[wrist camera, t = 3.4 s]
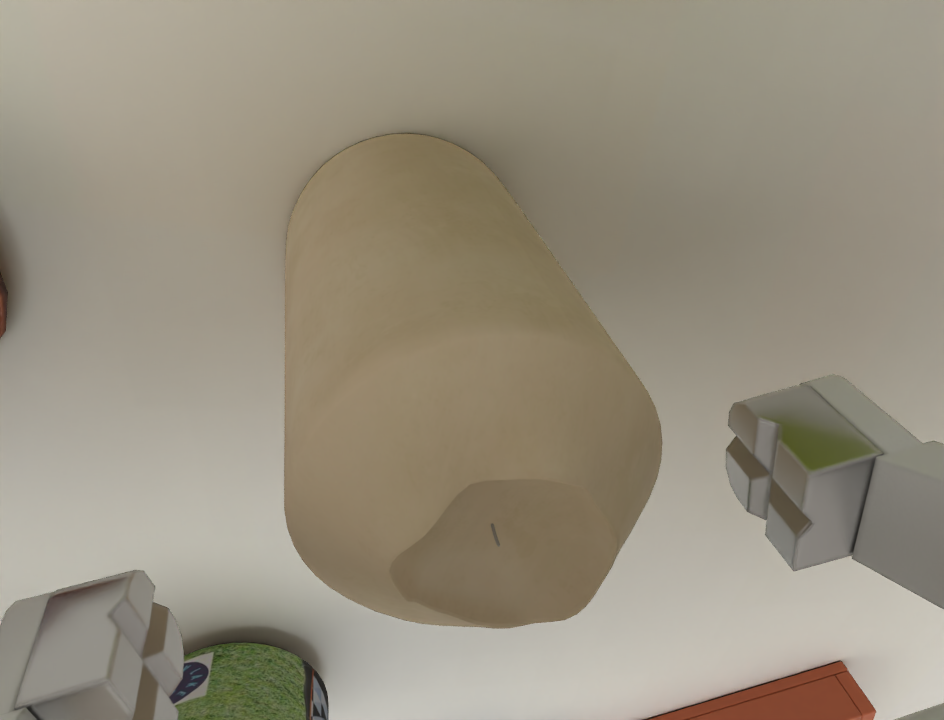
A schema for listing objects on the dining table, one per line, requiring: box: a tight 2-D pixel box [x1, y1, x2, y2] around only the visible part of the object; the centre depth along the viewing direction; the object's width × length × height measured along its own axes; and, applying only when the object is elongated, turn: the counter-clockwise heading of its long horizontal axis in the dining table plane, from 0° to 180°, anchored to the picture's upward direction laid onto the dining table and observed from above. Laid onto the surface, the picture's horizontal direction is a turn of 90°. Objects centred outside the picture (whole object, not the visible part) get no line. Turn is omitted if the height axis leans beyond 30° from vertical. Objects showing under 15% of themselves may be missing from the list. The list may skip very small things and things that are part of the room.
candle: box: [284, 134, 662, 628], centre depth 13 cm, size 6×6×10 cm
